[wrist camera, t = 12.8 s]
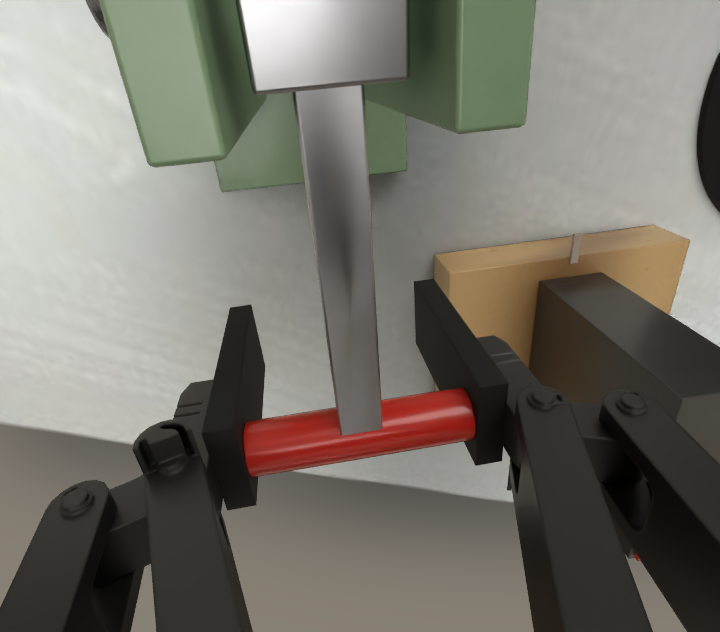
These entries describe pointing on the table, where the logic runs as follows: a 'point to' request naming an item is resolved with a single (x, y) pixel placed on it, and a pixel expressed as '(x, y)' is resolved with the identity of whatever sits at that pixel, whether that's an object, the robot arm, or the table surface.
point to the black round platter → (710, 137)
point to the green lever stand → (276, 111)
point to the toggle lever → (340, 227)
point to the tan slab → (554, 276)
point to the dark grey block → (625, 355)
